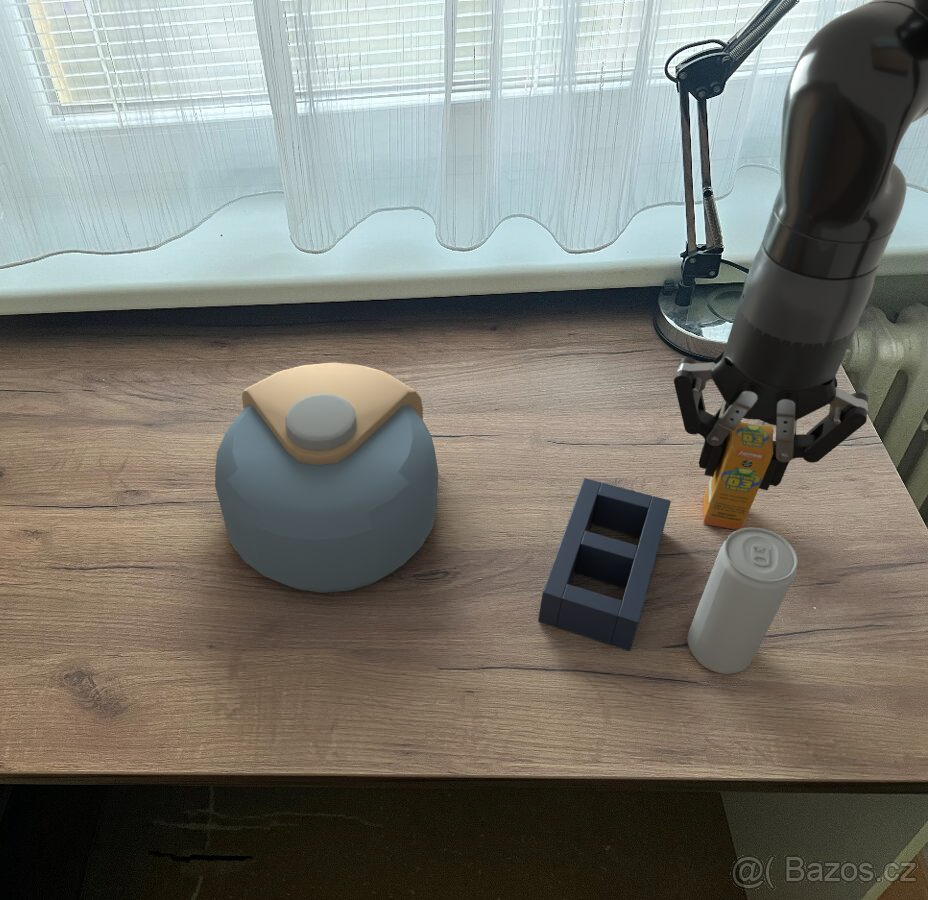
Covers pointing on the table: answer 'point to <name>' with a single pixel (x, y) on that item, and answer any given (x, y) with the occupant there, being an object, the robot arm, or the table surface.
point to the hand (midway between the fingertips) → (737, 475)
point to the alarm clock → (328, 476)
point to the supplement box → (738, 475)
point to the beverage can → (741, 599)
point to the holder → (604, 563)
